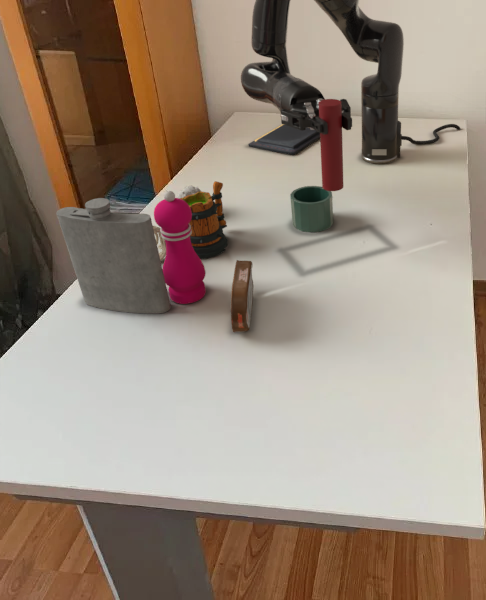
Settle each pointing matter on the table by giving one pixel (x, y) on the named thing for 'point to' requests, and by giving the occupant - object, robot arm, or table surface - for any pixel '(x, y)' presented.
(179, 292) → the pepper mill
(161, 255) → the bracelet
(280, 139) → the wallet
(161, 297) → the hip flask
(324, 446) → the table surface
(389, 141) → the robot arm
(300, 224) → the tumbler
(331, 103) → the candle
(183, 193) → the frog figurine
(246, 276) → the tin
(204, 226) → the mug
